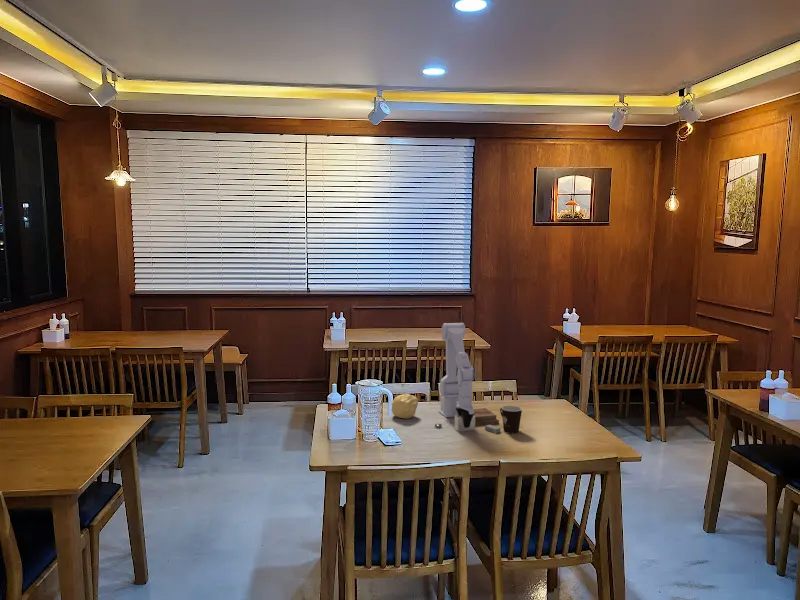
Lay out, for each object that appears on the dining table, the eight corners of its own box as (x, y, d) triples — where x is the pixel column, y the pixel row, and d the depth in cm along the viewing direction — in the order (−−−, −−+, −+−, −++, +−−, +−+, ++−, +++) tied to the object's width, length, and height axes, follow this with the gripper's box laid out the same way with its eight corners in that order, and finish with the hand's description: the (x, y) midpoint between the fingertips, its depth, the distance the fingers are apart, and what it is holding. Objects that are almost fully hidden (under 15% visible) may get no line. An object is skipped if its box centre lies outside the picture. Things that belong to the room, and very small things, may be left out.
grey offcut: (485, 430, 243) (485, 425, 243) (489, 428, 245) (489, 424, 245) (495, 434, 239) (496, 429, 239) (500, 432, 241) (500, 428, 240)
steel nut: (433, 426, 247) (433, 424, 247) (440, 426, 248) (440, 423, 248) (436, 428, 244) (436, 426, 244) (442, 428, 245) (442, 425, 245)
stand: (461, 416, 261) (461, 409, 261) (485, 414, 265) (485, 407, 265) (474, 425, 248) (474, 418, 248) (498, 423, 252) (499, 415, 251)
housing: (454, 428, 244) (454, 415, 244) (471, 427, 247) (471, 413, 246) (457, 431, 240) (458, 418, 240) (474, 429, 243) (475, 416, 242)
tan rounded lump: (409, 422, 252) (409, 398, 251) (386, 417, 258) (387, 395, 257) (421, 415, 262) (421, 393, 261) (399, 411, 268) (399, 389, 267)
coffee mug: (523, 434, 238) (524, 411, 237) (503, 434, 238) (503, 411, 236) (517, 425, 249) (518, 403, 248) (498, 425, 249) (498, 403, 248)
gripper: (450, 391, 248) (449, 421, 249) (463, 400, 234) (462, 431, 235) (465, 390, 250) (464, 419, 251) (479, 399, 236) (478, 430, 237)
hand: (464, 425), depth 243 cm, fingers closed on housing, 4 cm apart
